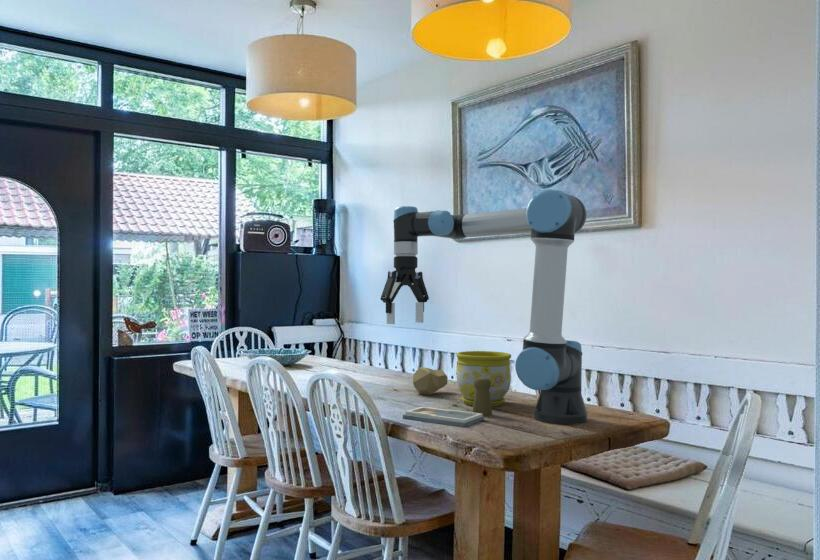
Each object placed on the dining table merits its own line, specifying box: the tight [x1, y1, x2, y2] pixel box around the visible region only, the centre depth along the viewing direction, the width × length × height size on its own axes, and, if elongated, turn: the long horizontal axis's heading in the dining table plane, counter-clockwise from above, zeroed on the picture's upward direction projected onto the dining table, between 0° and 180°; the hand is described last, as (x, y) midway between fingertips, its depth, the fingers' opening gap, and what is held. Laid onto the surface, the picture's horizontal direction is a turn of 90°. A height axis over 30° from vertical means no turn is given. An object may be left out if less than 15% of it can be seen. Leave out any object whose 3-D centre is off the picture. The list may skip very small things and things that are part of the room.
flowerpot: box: [456, 350, 512, 407], centre depth 212 cm, size 18×18×16 cm
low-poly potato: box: [412, 366, 448, 396], centre depth 229 cm, size 15×11×12 cm
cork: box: [471, 377, 493, 417], centre depth 193 cm, size 6×6×11 cm
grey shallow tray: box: [402, 406, 485, 428], centre depth 185 cm, size 20×12×2 cm, turn 57°
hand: (405, 323), depth 202 cm, fingers open, 13 cm apart
